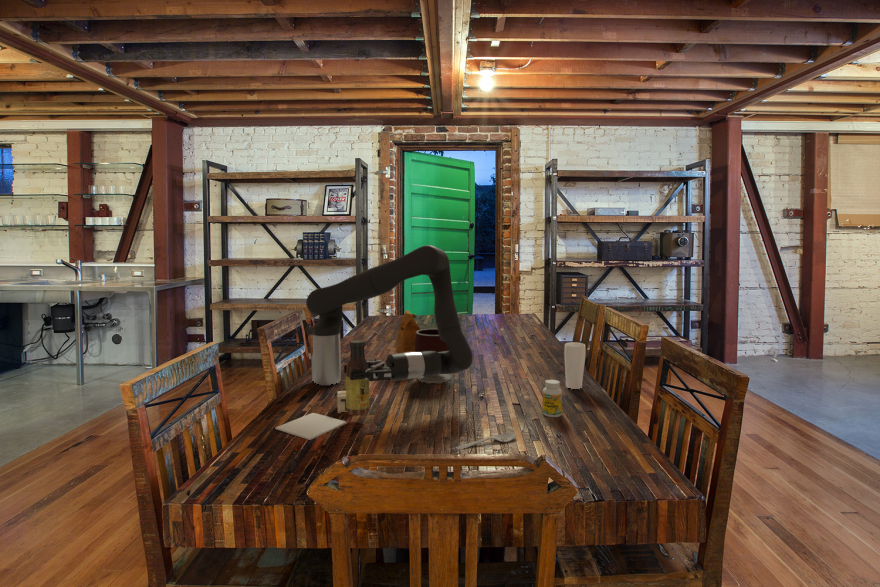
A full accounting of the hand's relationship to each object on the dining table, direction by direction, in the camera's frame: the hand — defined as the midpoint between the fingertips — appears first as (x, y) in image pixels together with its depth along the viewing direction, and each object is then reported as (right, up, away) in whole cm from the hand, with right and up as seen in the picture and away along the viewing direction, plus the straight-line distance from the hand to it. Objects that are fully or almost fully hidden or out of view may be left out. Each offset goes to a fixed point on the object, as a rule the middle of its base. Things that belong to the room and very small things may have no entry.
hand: (347, 372), depth 126 cm
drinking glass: (+70, -11, +33) cm, 78 cm away
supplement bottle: (+57, -13, +8) cm, 59 cm away
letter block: (-2, -13, +12) cm, 18 cm away
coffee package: (+13, -8, +59) cm, 61 cm away
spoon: (+35, -16, -12) cm, 40 cm away
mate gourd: (+24, -10, +43) cm, 50 cm away
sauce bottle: (+3, -11, +2) cm, 12 cm away
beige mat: (-9, -14, -1) cm, 17 cm away
